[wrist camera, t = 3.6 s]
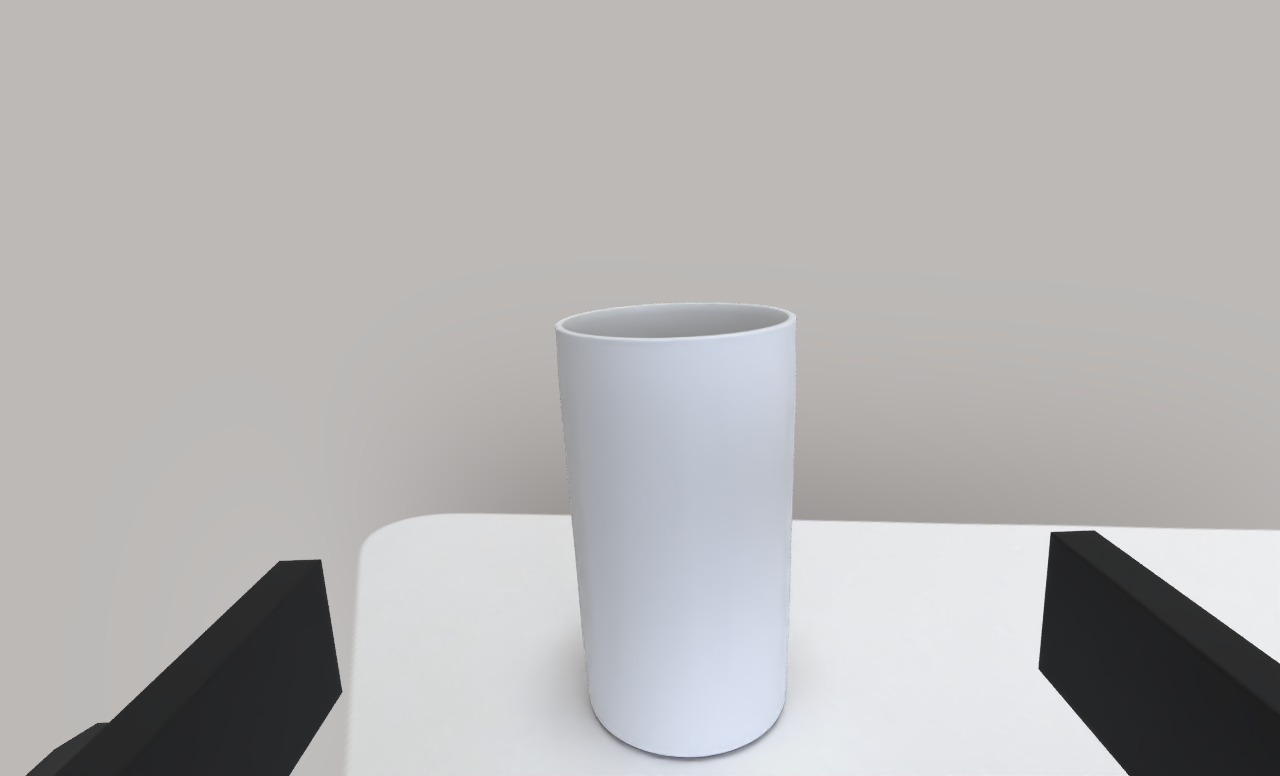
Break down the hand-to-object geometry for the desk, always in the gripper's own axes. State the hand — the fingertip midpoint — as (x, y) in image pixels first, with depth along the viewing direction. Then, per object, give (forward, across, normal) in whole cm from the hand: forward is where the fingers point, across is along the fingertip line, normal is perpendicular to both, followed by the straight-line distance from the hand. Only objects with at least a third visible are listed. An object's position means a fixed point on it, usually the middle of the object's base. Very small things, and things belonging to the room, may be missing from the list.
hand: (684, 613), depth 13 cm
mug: (+10, 0, -8) cm, 13 cm away
